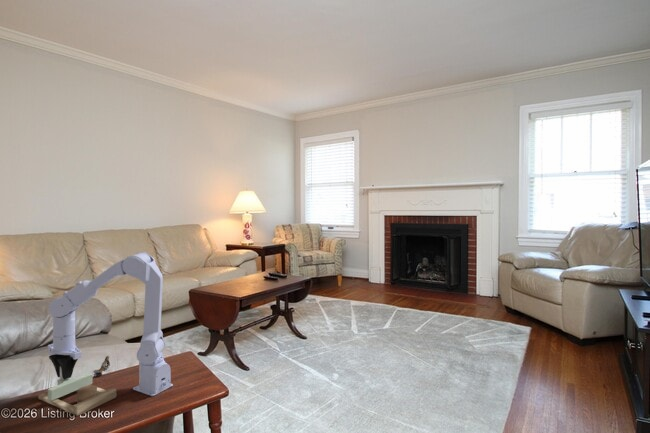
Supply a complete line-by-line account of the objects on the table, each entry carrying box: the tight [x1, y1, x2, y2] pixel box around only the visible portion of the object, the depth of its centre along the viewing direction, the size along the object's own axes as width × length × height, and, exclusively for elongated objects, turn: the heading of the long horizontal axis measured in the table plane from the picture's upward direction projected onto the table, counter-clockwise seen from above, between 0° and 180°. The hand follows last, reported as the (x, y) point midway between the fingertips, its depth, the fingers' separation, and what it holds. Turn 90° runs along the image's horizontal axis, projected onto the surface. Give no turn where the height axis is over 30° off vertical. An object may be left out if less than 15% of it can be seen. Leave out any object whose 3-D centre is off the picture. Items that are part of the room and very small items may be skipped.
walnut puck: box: [76, 384, 98, 404], centre depth 111 cm, size 5×5×4 cm
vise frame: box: [38, 386, 117, 417], centre depth 113 cm, size 20×12×2 cm, turn 64°
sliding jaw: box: [47, 366, 94, 401], centre depth 116 cm, size 6×12×7 cm, turn 154°
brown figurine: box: [95, 355, 111, 376], centre depth 132 cm, size 2×8×4 cm, turn 7°
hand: (64, 377), depth 116 cm, fingers closed on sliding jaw, 2 cm apart
